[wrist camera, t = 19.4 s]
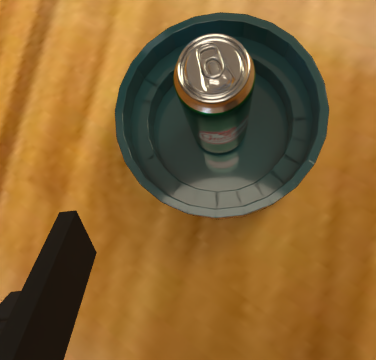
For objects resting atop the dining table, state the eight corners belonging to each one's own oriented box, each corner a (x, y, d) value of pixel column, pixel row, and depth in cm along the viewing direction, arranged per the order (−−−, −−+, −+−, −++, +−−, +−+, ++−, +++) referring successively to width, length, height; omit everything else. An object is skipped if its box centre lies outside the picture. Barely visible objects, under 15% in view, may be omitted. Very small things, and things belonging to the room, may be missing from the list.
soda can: (202, 162, 31) (185, 121, 19) (185, 113, 32) (159, 45, 20) (254, 143, 30) (270, 90, 19) (235, 94, 31) (239, 14, 20)
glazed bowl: (139, 227, 31) (122, 227, 26) (127, 60, 34) (109, 31, 29) (325, 208, 29) (346, 204, 24) (297, 33, 32) (310, -4, 27)
